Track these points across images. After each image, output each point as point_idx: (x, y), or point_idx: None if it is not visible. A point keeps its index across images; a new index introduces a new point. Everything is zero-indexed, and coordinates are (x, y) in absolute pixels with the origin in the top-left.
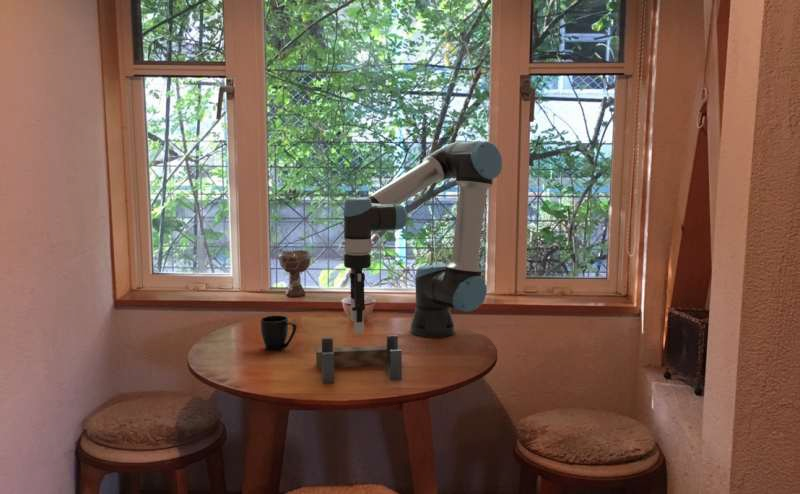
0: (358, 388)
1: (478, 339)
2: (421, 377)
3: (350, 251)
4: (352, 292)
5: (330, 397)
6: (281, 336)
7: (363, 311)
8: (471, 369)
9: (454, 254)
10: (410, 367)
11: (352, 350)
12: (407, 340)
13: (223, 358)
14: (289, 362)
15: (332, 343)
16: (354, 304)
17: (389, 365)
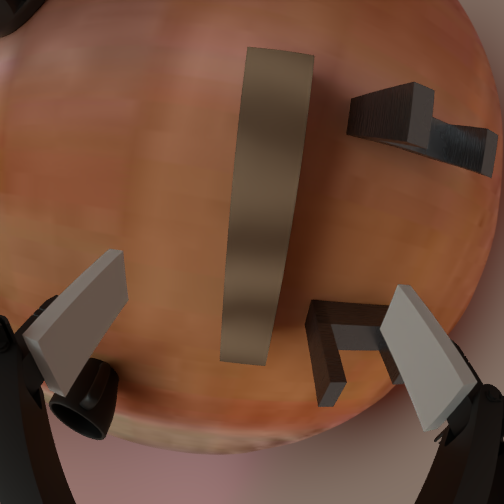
0: (444, 258)
1: None
2: (433, 67)
3: None
4: (55, 453)
5: (450, 317)
6: (105, 392)
7: (470, 378)
8: None
9: None
10: (342, 51)
11: (278, 262)
12: (57, 30)
13: (165, 433)
14: (200, 372)
15: (342, 368)
16: (73, 350)
17: (433, 157)
